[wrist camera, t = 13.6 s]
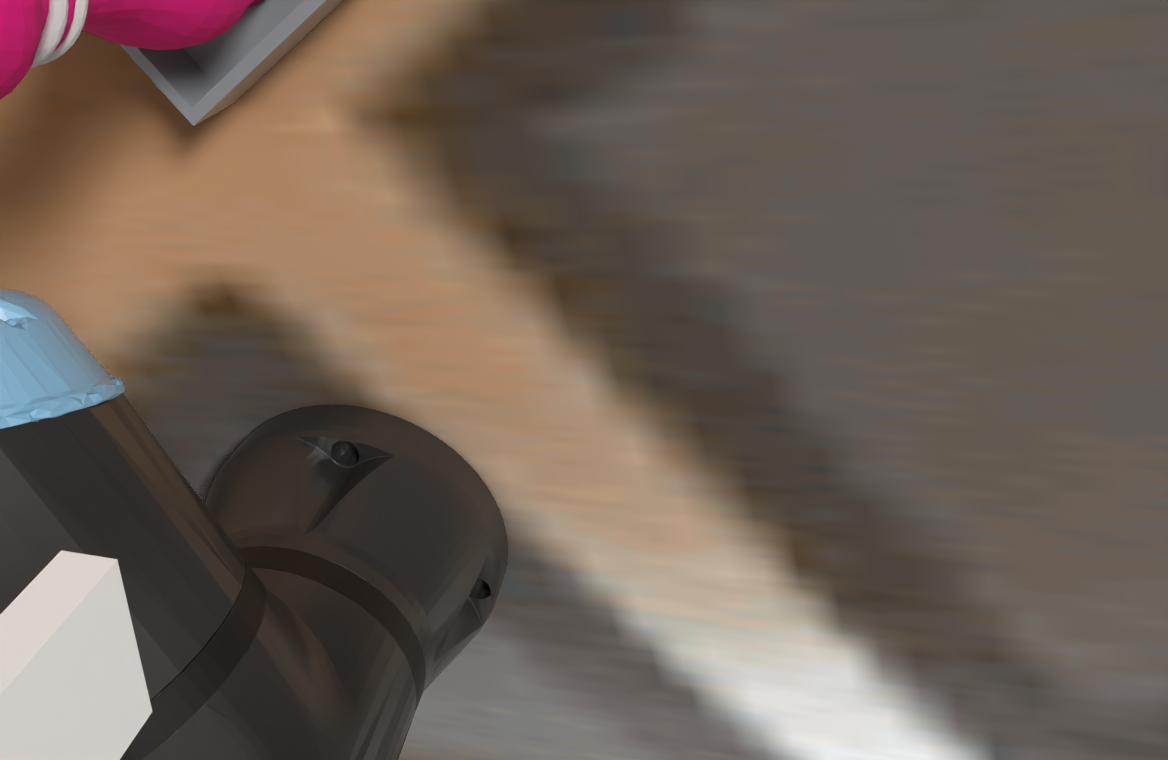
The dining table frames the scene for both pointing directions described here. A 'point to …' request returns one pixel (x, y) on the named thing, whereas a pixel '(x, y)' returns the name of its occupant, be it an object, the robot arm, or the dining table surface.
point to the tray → (230, 56)
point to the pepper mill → (104, 27)
